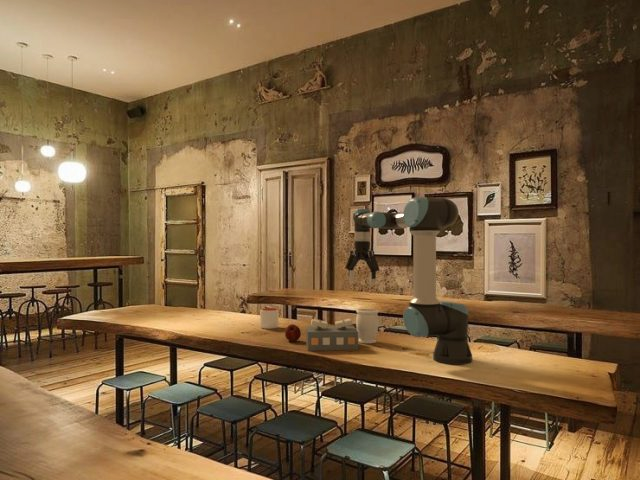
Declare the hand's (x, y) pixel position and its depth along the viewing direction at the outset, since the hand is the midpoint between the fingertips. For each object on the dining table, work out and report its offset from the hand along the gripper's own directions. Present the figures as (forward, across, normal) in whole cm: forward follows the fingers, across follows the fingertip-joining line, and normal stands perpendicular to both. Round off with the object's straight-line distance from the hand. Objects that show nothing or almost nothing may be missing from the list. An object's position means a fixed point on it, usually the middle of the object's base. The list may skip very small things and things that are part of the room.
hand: (361, 284), depth 229 cm
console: (+26, -2, +22) cm, 35 cm away
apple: (+27, +18, +28) cm, 43 cm away
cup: (+27, +54, +16) cm, 63 cm away
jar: (+27, -6, +2) cm, 27 cm away
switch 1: (+16, +1, +26) cm, 31 cm away
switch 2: (+16, -6, +18) cm, 24 cm away
